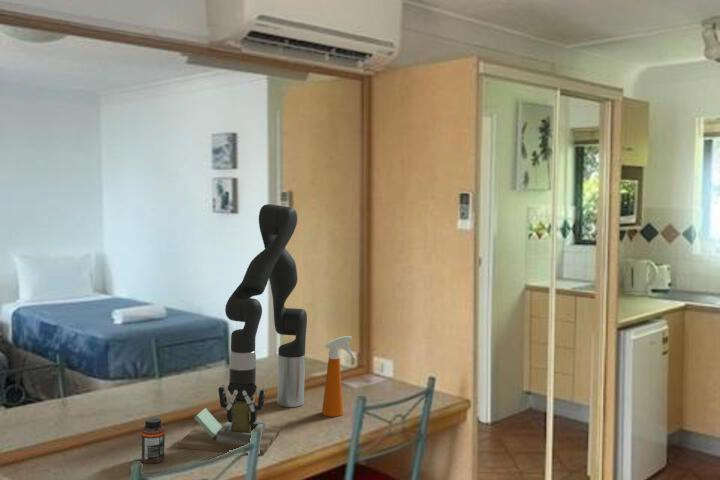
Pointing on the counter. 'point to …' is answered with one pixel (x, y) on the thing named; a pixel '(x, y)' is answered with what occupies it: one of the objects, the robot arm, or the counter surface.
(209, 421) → the latch flap
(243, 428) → the olive knobbed cylinder
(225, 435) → the holder board
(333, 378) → the spray bottle
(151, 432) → the supplement bottle
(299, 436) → the counter surface
